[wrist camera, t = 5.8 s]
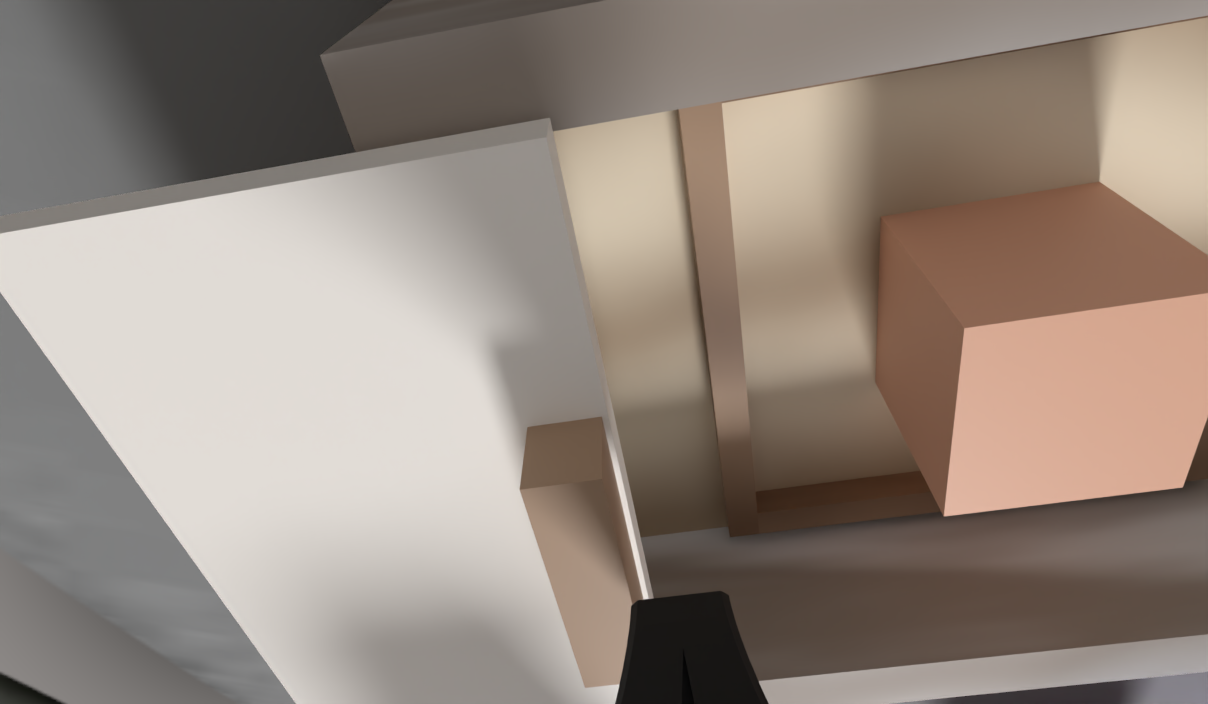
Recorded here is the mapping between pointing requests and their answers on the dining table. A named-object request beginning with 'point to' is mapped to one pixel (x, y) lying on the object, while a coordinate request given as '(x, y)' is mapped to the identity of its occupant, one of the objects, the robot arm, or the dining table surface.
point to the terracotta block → (1042, 348)
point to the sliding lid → (362, 411)
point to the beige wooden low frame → (831, 300)
